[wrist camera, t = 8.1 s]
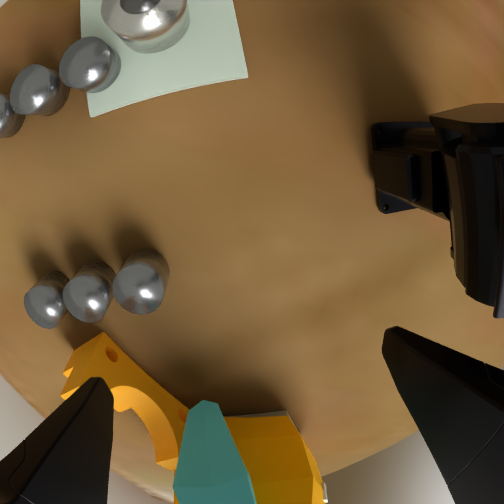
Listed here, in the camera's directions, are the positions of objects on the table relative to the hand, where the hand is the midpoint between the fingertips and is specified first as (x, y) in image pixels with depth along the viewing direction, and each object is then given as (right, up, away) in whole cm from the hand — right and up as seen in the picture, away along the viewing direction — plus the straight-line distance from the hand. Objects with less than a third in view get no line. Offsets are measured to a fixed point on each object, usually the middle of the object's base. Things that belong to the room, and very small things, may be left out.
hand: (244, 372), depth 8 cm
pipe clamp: (-10, -9, +15) cm, 20 cm away
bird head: (0, -19, +21) cm, 28 cm away
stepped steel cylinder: (-6, +17, +5) cm, 19 cm away
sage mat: (-6, +18, +5) cm, 19 cm away
